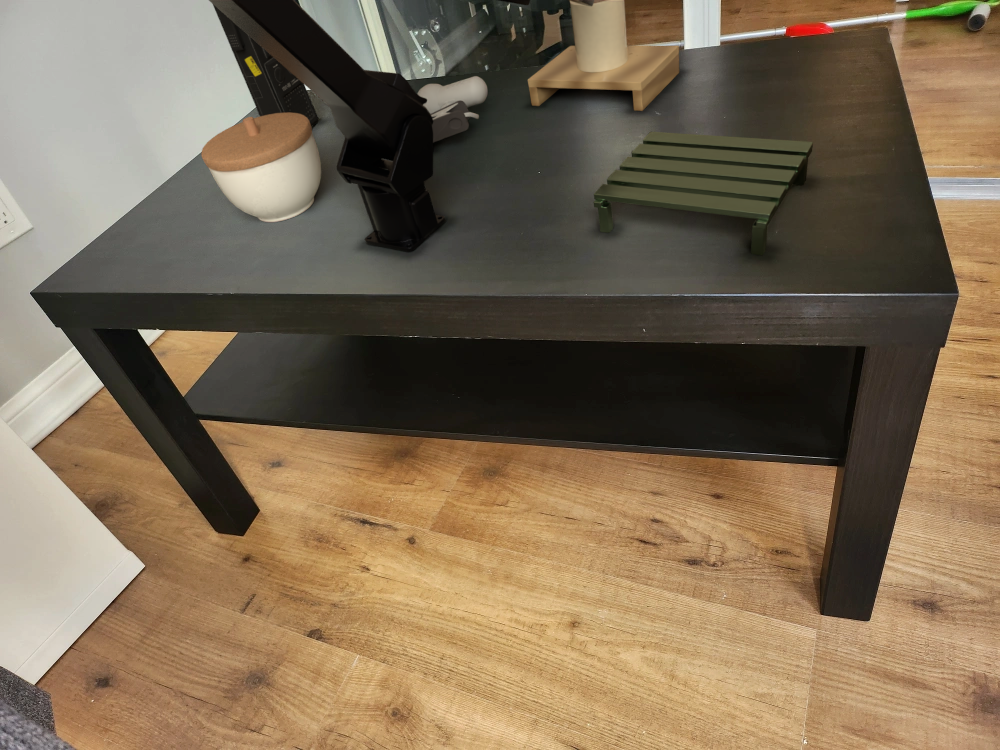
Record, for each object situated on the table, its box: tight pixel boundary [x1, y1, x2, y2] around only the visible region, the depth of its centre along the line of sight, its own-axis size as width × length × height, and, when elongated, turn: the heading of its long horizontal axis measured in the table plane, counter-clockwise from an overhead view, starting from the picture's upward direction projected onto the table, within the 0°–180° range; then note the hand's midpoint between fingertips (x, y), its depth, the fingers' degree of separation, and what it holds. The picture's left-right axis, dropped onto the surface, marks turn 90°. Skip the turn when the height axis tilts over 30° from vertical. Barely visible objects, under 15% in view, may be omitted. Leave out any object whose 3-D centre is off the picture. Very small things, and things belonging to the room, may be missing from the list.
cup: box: [569, 0, 628, 72], centre depth 89 cm, size 7×7×8 cm
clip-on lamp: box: [417, 75, 489, 143], centre depth 93 cm, size 12×6×18 cm
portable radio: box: [212, 4, 320, 127], centre depth 97 cm, size 8×6×25 cm
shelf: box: [527, 45, 680, 112], centre depth 93 cm, size 16×12×4 cm
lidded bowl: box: [200, 113, 322, 223], centre depth 82 cm, size 13×13×11 cm
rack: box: [592, 131, 814, 256], centre depth 67 cm, size 16×14×4 cm
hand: (559, 1), depth 82 cm, fingers open, 9 cm apart
